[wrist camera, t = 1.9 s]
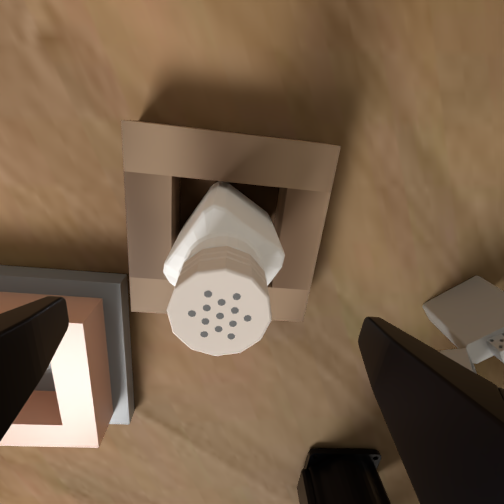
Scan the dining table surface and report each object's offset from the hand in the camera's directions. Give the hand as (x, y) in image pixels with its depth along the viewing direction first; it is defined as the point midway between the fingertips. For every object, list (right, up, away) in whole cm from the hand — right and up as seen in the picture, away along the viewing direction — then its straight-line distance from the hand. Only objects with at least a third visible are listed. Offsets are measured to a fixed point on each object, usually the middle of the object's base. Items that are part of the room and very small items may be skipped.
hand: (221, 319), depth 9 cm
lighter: (+14, -2, +12) cm, 18 cm away
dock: (-14, -4, +11) cm, 18 cm away
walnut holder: (0, +4, +9) cm, 10 cm away
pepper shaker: (0, +4, +9) cm, 10 cm away
